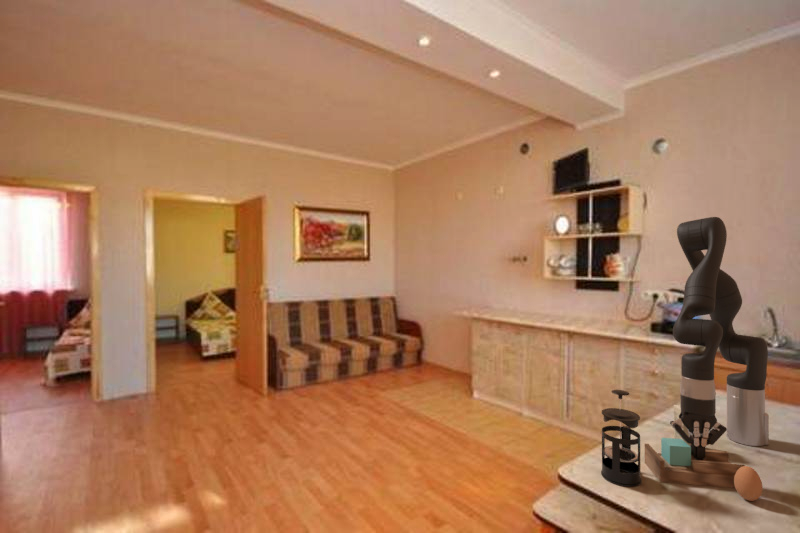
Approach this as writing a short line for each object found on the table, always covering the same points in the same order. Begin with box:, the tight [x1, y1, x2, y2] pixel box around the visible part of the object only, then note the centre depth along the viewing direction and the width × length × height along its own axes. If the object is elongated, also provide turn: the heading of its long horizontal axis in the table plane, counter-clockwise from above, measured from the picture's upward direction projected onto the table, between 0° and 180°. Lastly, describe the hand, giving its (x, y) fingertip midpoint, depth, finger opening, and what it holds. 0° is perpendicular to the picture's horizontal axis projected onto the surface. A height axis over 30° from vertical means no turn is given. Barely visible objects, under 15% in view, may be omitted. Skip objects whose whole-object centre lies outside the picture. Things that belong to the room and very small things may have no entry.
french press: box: [600, 389, 642, 488], centre depth 107 cm, size 12×9×23 cm
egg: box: [734, 465, 763, 502], centre depth 96 cm, size 5×5×8 cm
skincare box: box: [673, 404, 691, 447], centre depth 123 cm, size 6×4×12 cm
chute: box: [644, 443, 746, 489], centre depth 108 cm, size 20×10×6 cm, turn 79°
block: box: [660, 437, 691, 466], centre depth 108 cm, size 5×5×5 cm
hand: (697, 458), depth 107 cm, fingers closed
